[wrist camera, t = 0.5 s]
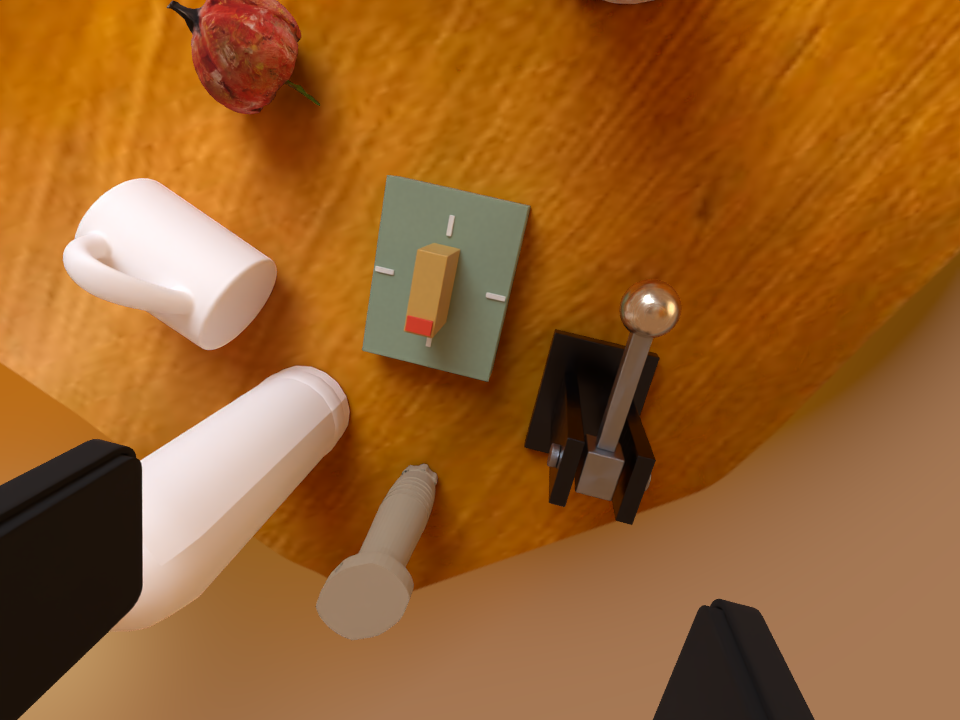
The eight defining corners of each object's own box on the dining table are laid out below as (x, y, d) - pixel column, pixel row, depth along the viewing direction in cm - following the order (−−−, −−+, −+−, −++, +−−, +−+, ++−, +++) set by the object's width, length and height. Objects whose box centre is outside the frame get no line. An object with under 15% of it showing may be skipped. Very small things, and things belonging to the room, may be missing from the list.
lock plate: (399, 176, 39) (386, 174, 36) (530, 206, 38) (528, 207, 35) (374, 340, 43) (361, 351, 40) (492, 369, 42) (487, 382, 39)
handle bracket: (555, 328, 41) (554, 386, 29) (657, 353, 40) (700, 422, 28) (524, 441, 44) (512, 535, 32) (618, 465, 43) (643, 570, 31)
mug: (250, 335, 44) (145, 383, 33) (145, 264, 44) (2, 290, 32) (292, 254, 42) (194, 277, 30) (181, 178, 41) (39, 172, 30)
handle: (378, 479, 47) (301, 602, 33) (426, 437, 45) (367, 549, 31) (415, 515, 48) (356, 651, 33) (465, 476, 46) (424, 602, 31)
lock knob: (433, 242, 37) (416, 249, 32) (460, 248, 37) (447, 256, 32) (420, 316, 39) (402, 332, 34) (446, 322, 38) (431, 339, 34)
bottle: (248, 386, 46) (-248, 695, 18) (319, 348, 44) (-115, 629, 16) (297, 460, 48) (-84, 853, 19) (368, 427, 46) (56, 812, 17)
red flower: (347, 49, 39) (214, -77, 32) (353, 91, 34) (200, -45, 27) (288, 122, 42) (156, 21, 35) (287, 170, 37) (134, 64, 30)
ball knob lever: (625, 269, 29) (633, 277, 26) (682, 282, 29) (696, 292, 26) (565, 466, 34) (566, 493, 31) (614, 479, 33) (620, 507, 30)
